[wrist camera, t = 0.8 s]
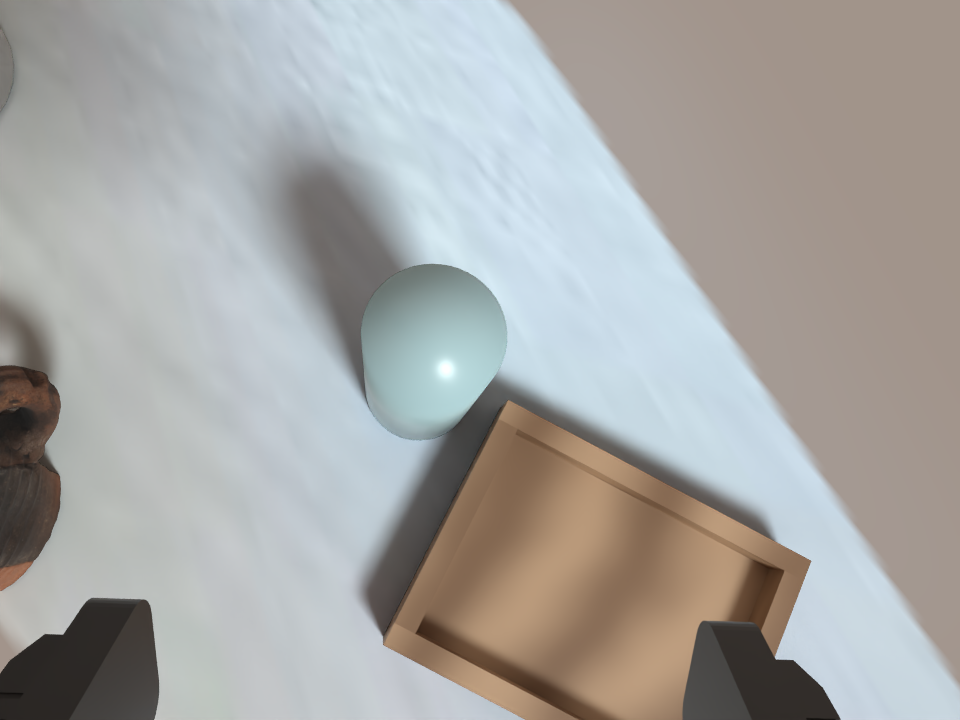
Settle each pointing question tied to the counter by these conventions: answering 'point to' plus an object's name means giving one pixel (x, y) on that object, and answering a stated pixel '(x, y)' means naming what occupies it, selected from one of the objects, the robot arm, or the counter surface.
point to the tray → (581, 581)
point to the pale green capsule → (429, 349)
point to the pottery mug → (25, 469)
